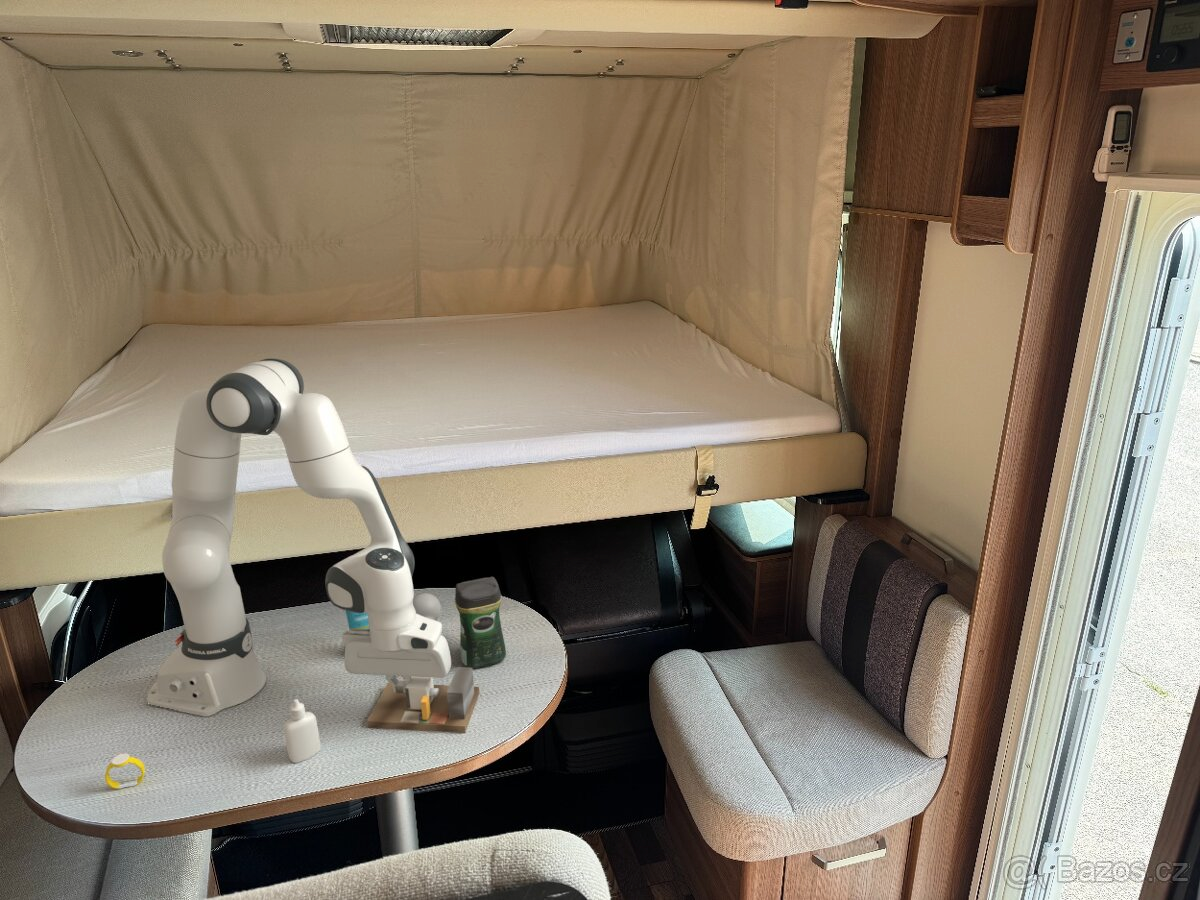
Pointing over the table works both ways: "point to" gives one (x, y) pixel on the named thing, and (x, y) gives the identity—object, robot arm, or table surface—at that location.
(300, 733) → the eye dropper bottle
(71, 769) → the table surface
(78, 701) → the table surface
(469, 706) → the bench
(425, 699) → the block
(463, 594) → the coffee jar
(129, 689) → the table surface
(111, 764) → the watch
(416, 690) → the cream block with knob
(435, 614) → the round bodied animal figurine
